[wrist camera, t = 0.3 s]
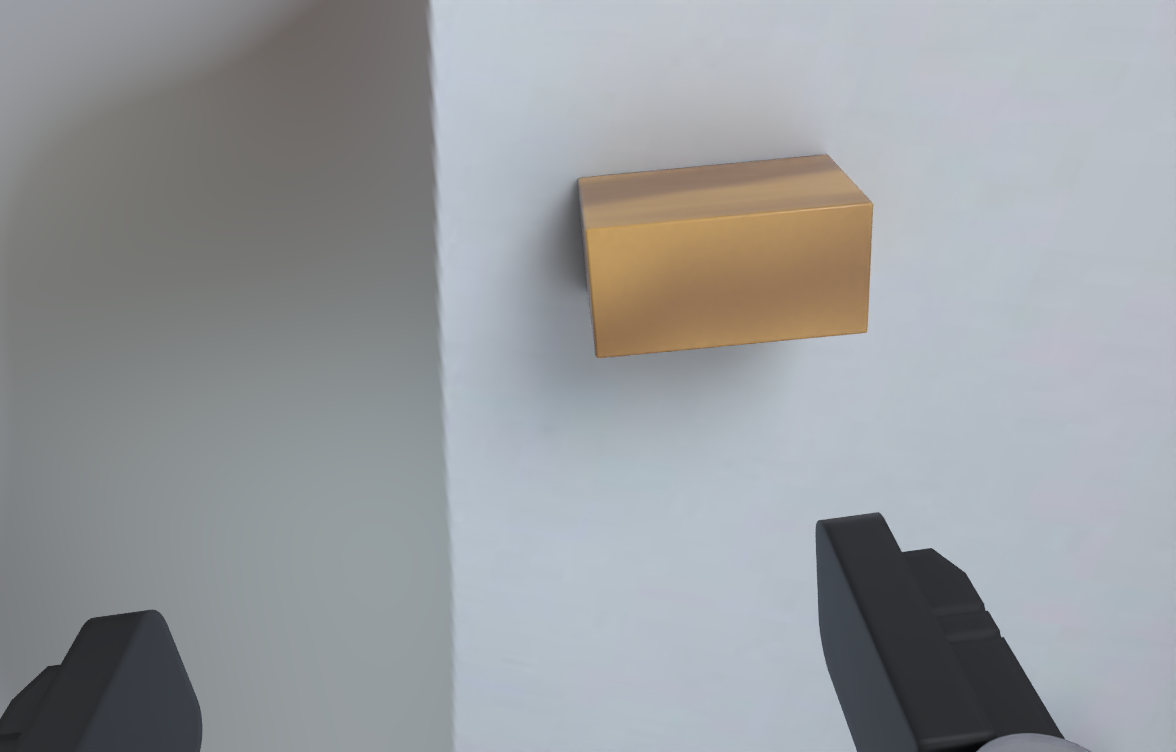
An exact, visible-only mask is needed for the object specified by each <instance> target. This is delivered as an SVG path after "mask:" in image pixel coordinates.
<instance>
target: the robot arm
mask: <svg viewBox="0 0 1176 752" xmlns="http://www.w3.org/2000/svg"><path fill="white" fill-rule="evenodd" d="M816 559H817V585H818V611H819V626H820V635H821V641H822V646H823V652H824V656H825V660H826V664H827V668H828V671H829V674H830V677H831V680H832V682H833V685H834V688H835V691H836V694H837V696H838V699H839V702H840V705H841V707H842V710H843V713H844V716H845V719H846V721H847V724H848V727H849V730H850V732H851V735H852V738H853V741H854V744H855V746H856V749H857V752H1090V751H1089V750H1087V749H1085V748H1083V747H1081V746H1079V745H1077V744H1075V743H1072V742H1070V741H1067V740H1065V738H1064V737H1063V736H1062V734H1061V733H1060V731H1059V729H1058V728H1057V726H1056V724H1055V723H1054V721H1053V719H1052V718H1051V716H1050V714H1049V712H1048V711H1047V709H1046V707H1045V706H1044V704H1043V702H1042V701H1041V699H1040V697H1039V696H1038V694H1037V692H1036V691H1035V689H1034V687H1033V686H1032V684H1031V682H1030V681H1029V679H1028V677H1027V676H1026V674H1025V672H1024V670H1023V669H1022V667H1021V665H1020V664H1019V662H1018V660H1017V659H1016V657H1015V655H1014V654H1013V652H1012V650H1011V649H1010V647H1009V645H1008V644H1007V642H1006V640H1005V639H1004V637H1002V638H1001V636H1000V630H999V628H998V627H997V625H996V623H995V622H994V620H993V618H992V617H991V615H990V613H989V612H988V611H985V607H984V603H983V602H982V600H981V598H980V597H979V595H978V593H977V592H976V590H975V588H974V587H973V585H972V583H971V581H970V580H969V578H968V576H967V575H966V573H965V572H963V571H962V570H961V569H959V568H958V567H957V566H955V565H954V564H952V563H951V562H950V561H948V560H947V559H946V558H944V557H943V556H942V555H940V554H939V553H938V552H936V551H935V550H933V549H932V548H929V549H922V550H915V551H907V552H901V550H900V548H899V546H898V544H897V542H896V540H895V538H894V536H893V534H892V532H891V531H890V529H889V527H888V525H887V523H886V521H885V519H884V518H883V516H882V515H881V514H880V513H879V512H878V513H870V514H862V515H855V516H848V517H840V518H833V519H826V520H818V521H817V524H816ZM201 741H202V717H201V711H200V706H199V703H198V700H197V697H196V695H195V692H194V690H193V687H192V685H191V682H190V680H189V677H188V675H187V672H186V670H185V668H184V665H183V662H182V660H181V657H180V655H179V652H178V650H177V647H176V645H175V642H174V640H173V638H172V635H171V633H170V630H169V627H168V625H167V623H166V621H165V619H164V617H163V616H162V615H161V614H160V613H159V612H158V611H156V610H146V611H139V612H132V613H124V614H117V615H109V616H103V617H96V618H91V619H90V620H88V621H87V622H86V623H85V624H84V625H83V627H82V628H81V630H80V632H79V634H78V635H77V637H76V639H75V641H74V642H73V644H72V646H71V648H70V649H69V651H68V653H67V655H66V656H65V658H64V660H63V662H62V663H61V665H55V666H48V667H47V668H46V669H45V670H43V671H42V672H41V673H40V674H39V675H38V676H37V677H36V678H35V679H34V680H33V681H32V682H31V683H30V684H28V685H27V686H26V687H25V688H24V689H23V690H22V691H21V692H20V693H19V694H18V695H17V696H16V697H15V698H14V699H12V701H11V702H10V704H9V706H8V707H7V709H6V711H5V712H4V714H3V715H2V717H1V719H0V752H200V748H201Z"/></svg>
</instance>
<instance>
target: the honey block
mask: <svg viewBox="0 0 1176 752" xmlns="http://www.w3.org/2000/svg"><path fill="white" fill-rule="evenodd" d="M578 191H579V202H580V213H581V225H582V236H583V247H584V259H585V270H586V281H587V292H588V300H589V308H590V316H591V324H592V331H593V339H594V347H595V355H596V357H597V358H606V357H616V356H627V355H637V354H648V353H658V352H669V351H679V350H690V349H700V348H711V347H721V346H732V345H742V344H752V343H763V342H773V341H784V340H794V339H805V338H815V337H826V336H836V335H847V334H857V333H866V332H867V327H868V305H869V283H870V261H871V239H872V217H873V203H872V202H871V201H870V200H869V198H868V197H867V196H866V195H865V194H864V193H863V192H862V191H861V190H860V189H859V188H858V187H857V186H856V185H855V183H854V182H853V181H852V180H851V179H850V178H849V177H848V176H847V175H846V174H845V173H844V172H843V171H842V169H841V168H840V167H839V166H838V165H837V164H836V163H835V162H834V161H833V160H832V159H831V158H830V157H829V156H828V155H815V156H805V157H794V158H784V159H773V160H762V161H752V162H741V163H730V164H720V165H709V166H698V167H688V168H677V169H667V170H656V171H645V172H635V173H624V174H613V175H603V176H592V177H581V178H579V179H578Z"/></svg>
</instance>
